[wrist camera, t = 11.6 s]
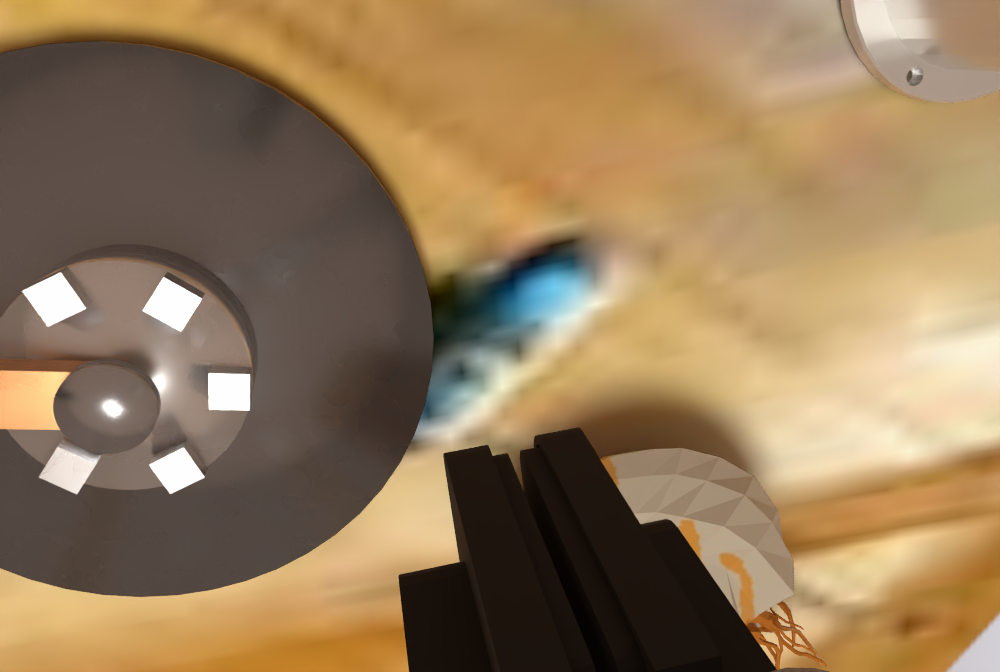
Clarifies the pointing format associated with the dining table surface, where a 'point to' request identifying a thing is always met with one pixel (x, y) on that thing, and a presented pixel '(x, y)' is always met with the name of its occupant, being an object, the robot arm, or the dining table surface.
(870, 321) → the dining table surface
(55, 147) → the dark gray metal disc
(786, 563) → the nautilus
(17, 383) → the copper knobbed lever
